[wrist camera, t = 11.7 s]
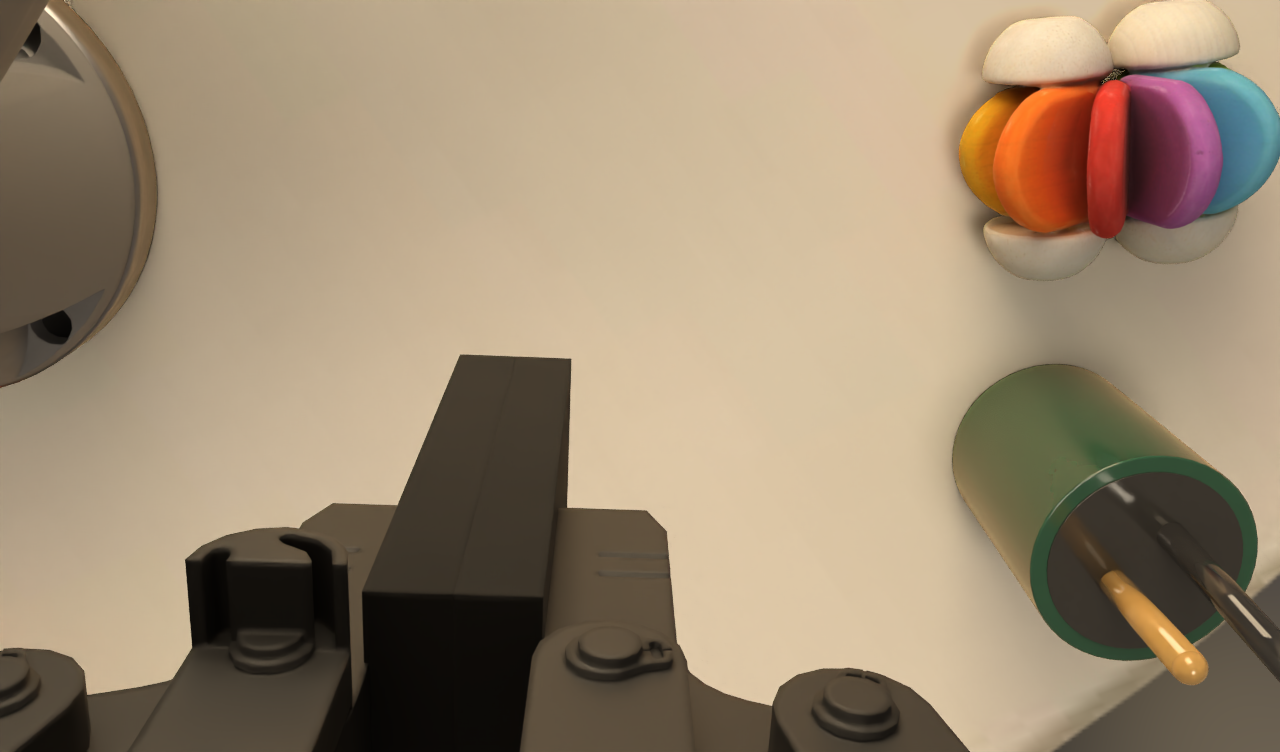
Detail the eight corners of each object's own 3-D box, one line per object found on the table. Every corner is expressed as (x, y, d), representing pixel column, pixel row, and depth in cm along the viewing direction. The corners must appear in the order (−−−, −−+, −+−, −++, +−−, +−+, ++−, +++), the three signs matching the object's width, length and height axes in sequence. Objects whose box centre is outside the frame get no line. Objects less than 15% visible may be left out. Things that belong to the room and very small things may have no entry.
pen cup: (941, 532, 46) (1105, 813, 31) (964, 359, 44) (1156, 568, 28) (1119, 538, 46) (1373, 821, 31) (1152, 367, 44) (1443, 577, 29)
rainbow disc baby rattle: (940, 26, 40) (1008, 36, 33) (1229, -12, 40) (1357, -10, 33) (951, 271, 43) (1016, 326, 36) (1221, 236, 43) (1338, 286, 36)
